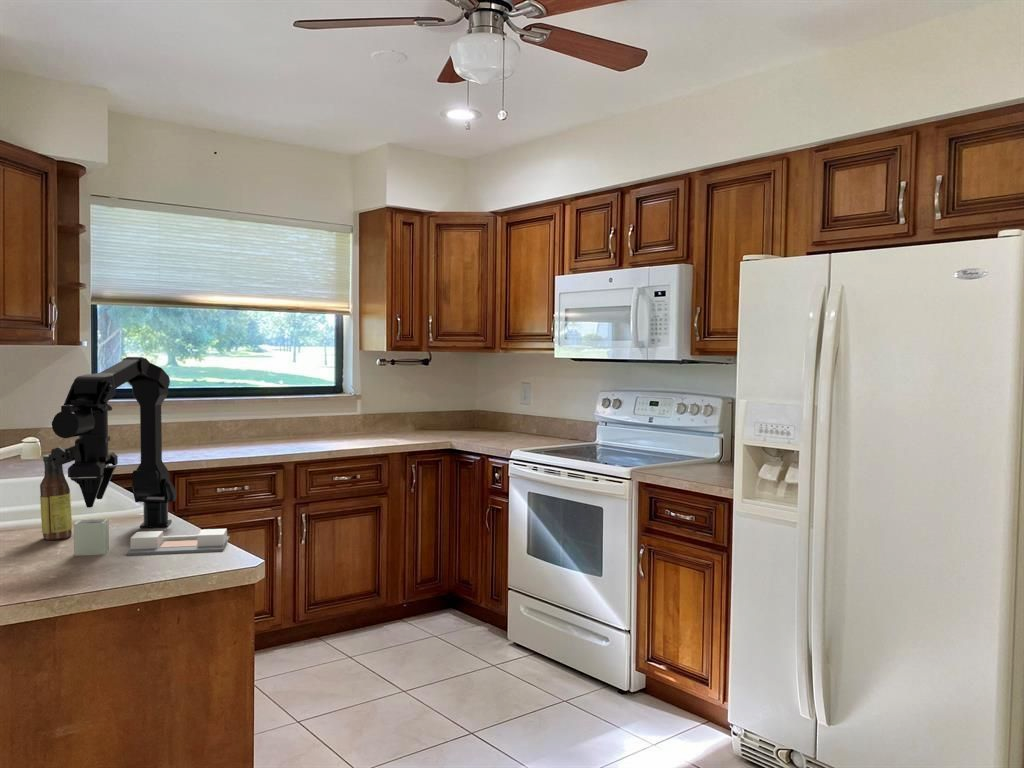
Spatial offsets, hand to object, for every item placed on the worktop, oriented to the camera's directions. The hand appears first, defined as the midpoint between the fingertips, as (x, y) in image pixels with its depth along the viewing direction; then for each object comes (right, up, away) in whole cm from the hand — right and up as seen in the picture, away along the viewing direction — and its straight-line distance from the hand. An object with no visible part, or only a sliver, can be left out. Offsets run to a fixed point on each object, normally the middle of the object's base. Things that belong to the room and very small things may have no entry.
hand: (94, 503), depth 175 cm
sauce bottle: (-16, -11, +13) cm, 23 cm away
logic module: (-1, -11, 0) cm, 11 cm away
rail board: (+16, -11, +6) cm, 21 cm away
